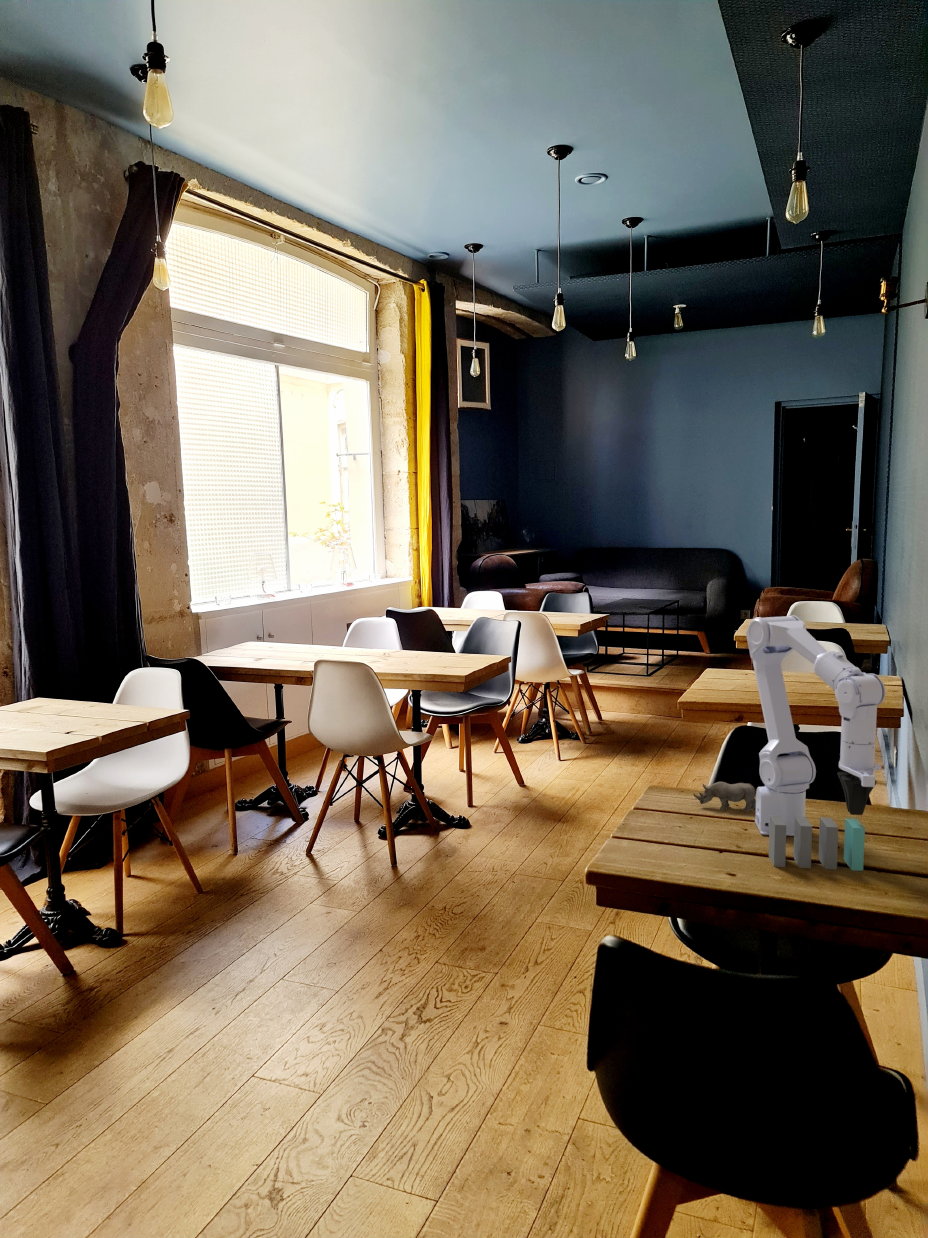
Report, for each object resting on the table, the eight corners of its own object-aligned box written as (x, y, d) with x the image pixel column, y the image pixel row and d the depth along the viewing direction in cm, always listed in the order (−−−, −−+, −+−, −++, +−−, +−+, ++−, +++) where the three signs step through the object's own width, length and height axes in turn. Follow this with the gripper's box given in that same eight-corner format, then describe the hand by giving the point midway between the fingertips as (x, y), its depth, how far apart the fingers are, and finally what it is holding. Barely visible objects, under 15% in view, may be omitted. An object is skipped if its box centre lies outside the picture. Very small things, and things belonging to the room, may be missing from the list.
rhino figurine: (692, 803, 193) (692, 777, 192) (756, 807, 190) (757, 781, 189) (693, 809, 189) (693, 783, 188) (758, 813, 186) (759, 786, 185)
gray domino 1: (773, 866, 158) (775, 825, 157) (768, 856, 163) (769, 815, 162) (785, 867, 158) (786, 825, 157) (779, 856, 162) (780, 816, 161)
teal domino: (851, 870, 156) (853, 828, 155) (843, 859, 161) (845, 818, 160) (863, 870, 155) (864, 828, 154) (854, 860, 160) (856, 818, 159)
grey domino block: (825, 869, 156) (826, 827, 155) (818, 858, 161) (819, 817, 160) (836, 869, 156) (838, 827, 155) (829, 858, 161) (831, 817, 160)
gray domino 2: (799, 868, 157) (800, 826, 156) (793, 857, 162) (794, 816, 161) (810, 868, 157) (812, 826, 156) (804, 857, 162) (805, 817, 161)
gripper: (894, 752, 147) (891, 828, 149) (869, 731, 162) (866, 800, 163) (851, 751, 149) (848, 826, 150) (829, 730, 163) (827, 799, 164)
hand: (855, 813), depth 157 cm, fingers closed
